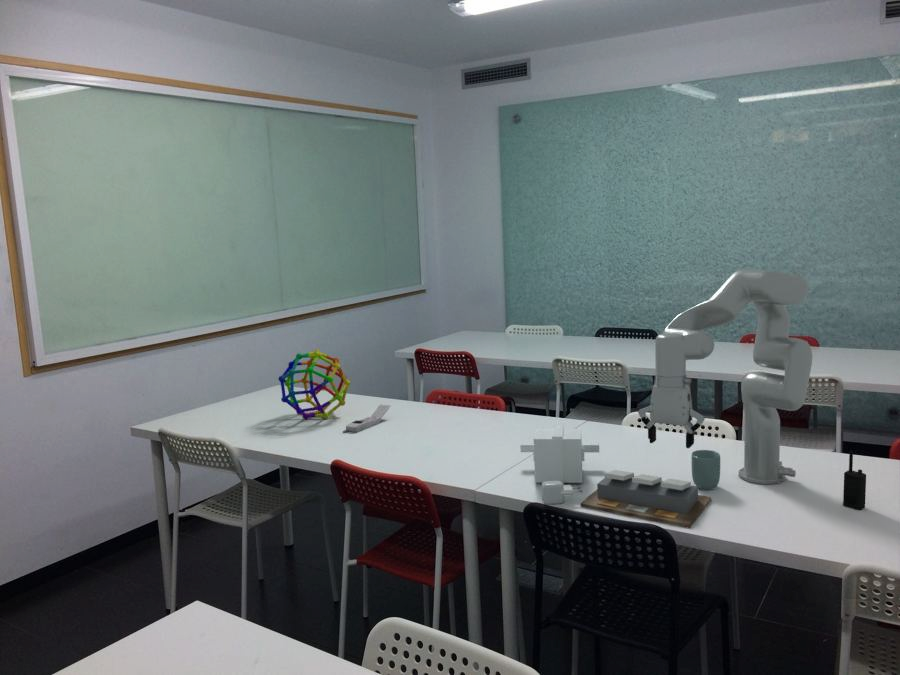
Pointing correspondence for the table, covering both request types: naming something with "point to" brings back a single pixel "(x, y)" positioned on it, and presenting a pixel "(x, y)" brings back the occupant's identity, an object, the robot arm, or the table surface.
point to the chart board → (648, 510)
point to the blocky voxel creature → (558, 454)
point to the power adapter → (556, 492)
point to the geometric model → (290, 383)
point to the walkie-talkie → (854, 487)
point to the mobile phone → (368, 420)
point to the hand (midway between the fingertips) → (670, 444)
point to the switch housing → (648, 494)
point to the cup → (706, 469)
